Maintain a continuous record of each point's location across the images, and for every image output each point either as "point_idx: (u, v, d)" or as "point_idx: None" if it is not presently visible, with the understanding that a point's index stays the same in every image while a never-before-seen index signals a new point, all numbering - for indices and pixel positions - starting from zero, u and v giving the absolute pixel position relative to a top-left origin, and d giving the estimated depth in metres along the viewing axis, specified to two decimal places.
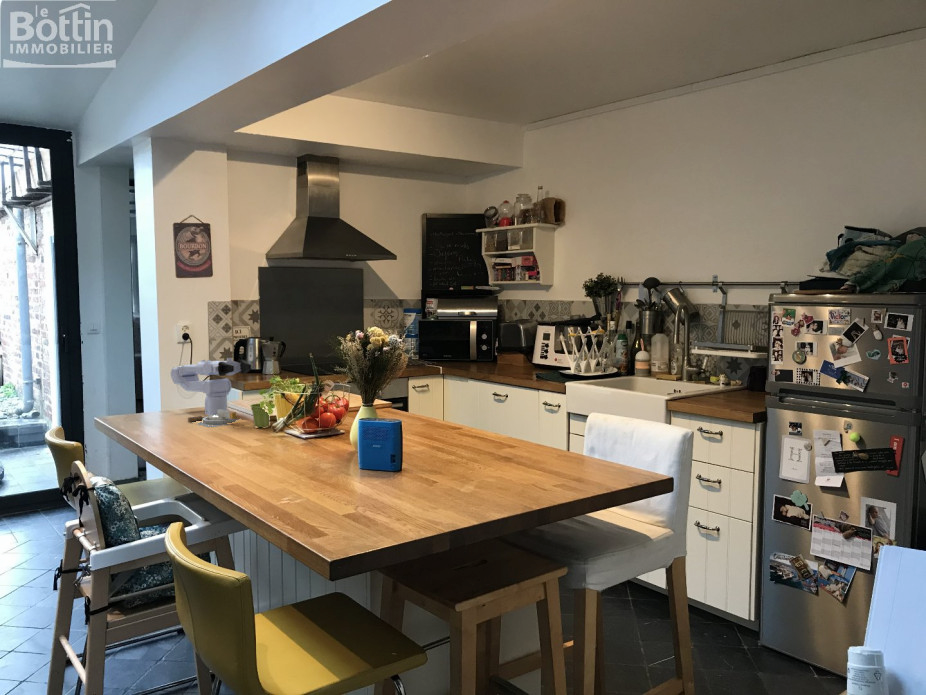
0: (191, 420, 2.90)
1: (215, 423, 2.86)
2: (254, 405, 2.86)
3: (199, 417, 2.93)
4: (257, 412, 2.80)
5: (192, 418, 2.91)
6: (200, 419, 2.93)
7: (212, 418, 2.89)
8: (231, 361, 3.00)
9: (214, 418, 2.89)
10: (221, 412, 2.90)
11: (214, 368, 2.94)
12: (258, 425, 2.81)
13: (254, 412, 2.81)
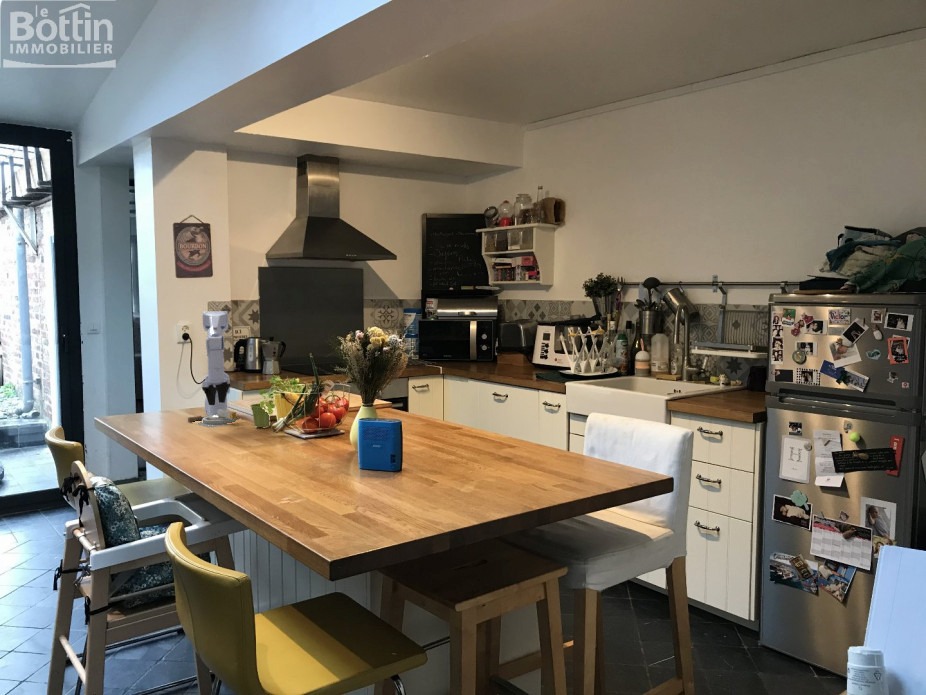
0: (191, 420, 2.90)
1: (215, 423, 2.86)
2: (254, 405, 2.86)
3: (199, 417, 2.93)
4: (257, 412, 2.80)
5: (192, 418, 2.91)
6: (200, 419, 2.93)
7: (212, 418, 2.89)
8: None
9: (214, 418, 2.89)
10: (221, 412, 2.90)
11: (205, 385, 2.74)
12: (258, 425, 2.81)
13: (254, 412, 2.81)
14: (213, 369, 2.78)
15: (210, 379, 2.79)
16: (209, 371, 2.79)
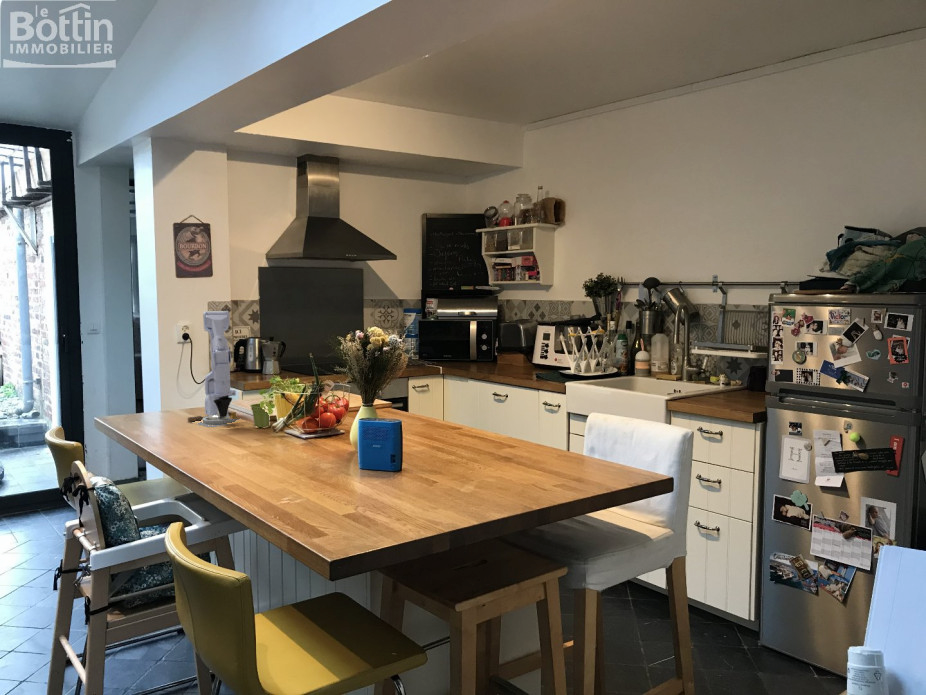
0: (191, 420, 2.91)
1: (215, 423, 2.86)
2: (254, 405, 2.86)
3: (199, 417, 2.93)
4: (257, 412, 2.80)
5: (192, 418, 2.91)
6: (200, 419, 2.93)
7: (212, 418, 2.89)
8: None
9: (214, 418, 2.89)
10: None
11: (211, 398, 2.78)
12: (258, 425, 2.81)
13: (254, 412, 2.81)
14: (219, 382, 2.82)
15: (217, 392, 2.83)
16: (216, 384, 2.83)
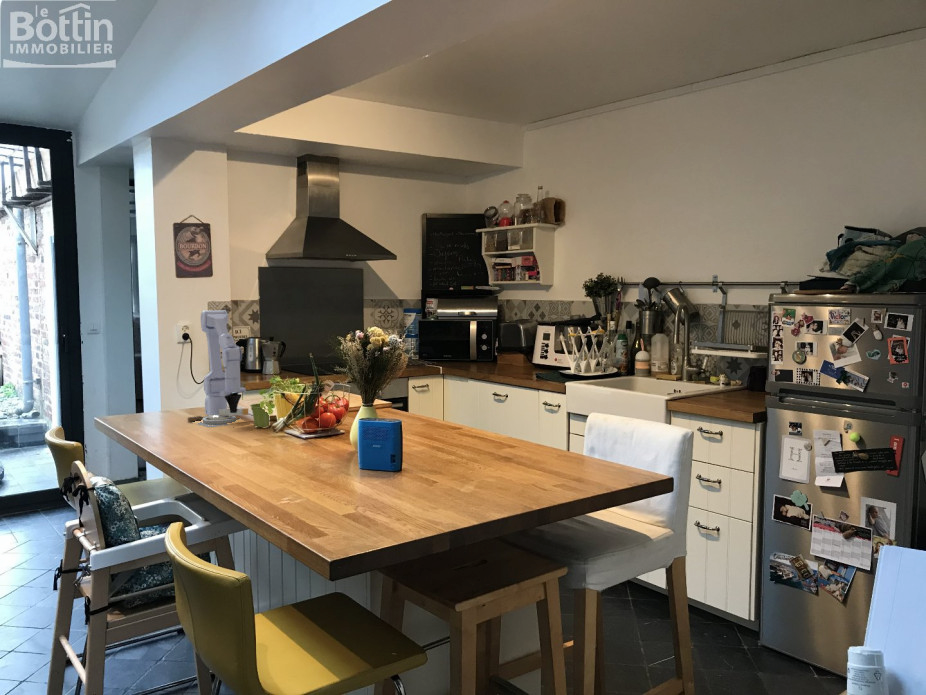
0: (191, 420, 2.91)
1: (215, 423, 2.86)
2: (254, 405, 2.86)
3: (199, 417, 2.93)
4: (257, 412, 2.80)
5: (192, 418, 2.91)
6: (200, 419, 2.93)
7: (221, 417, 2.89)
8: None
9: (224, 418, 2.90)
10: (227, 411, 2.92)
11: (222, 394, 2.84)
12: (258, 425, 2.81)
13: (254, 412, 2.81)
14: (230, 379, 2.88)
15: (227, 389, 2.89)
16: (226, 381, 2.89)
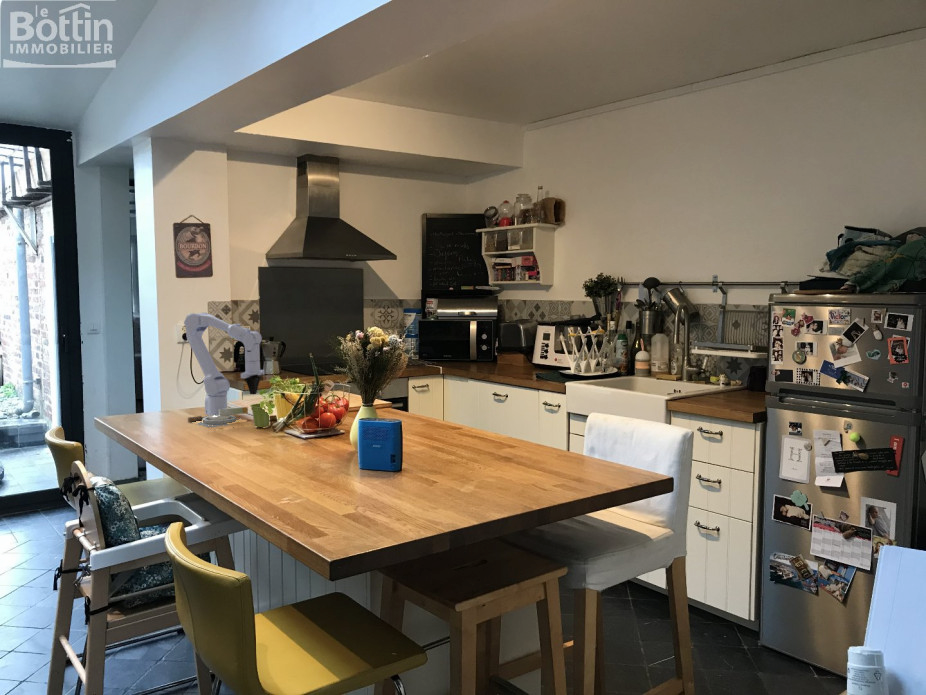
0: (191, 420, 2.90)
1: (215, 423, 2.86)
2: (254, 405, 2.86)
3: (199, 417, 2.93)
4: (257, 412, 2.80)
5: (192, 418, 2.91)
6: (200, 419, 2.93)
7: (224, 417, 2.90)
8: None
9: (227, 417, 2.91)
10: (228, 410, 2.93)
11: (243, 376, 2.97)
12: (258, 425, 2.81)
13: (254, 412, 2.81)
14: (250, 362, 3.01)
15: (247, 371, 3.01)
16: (246, 364, 3.01)
